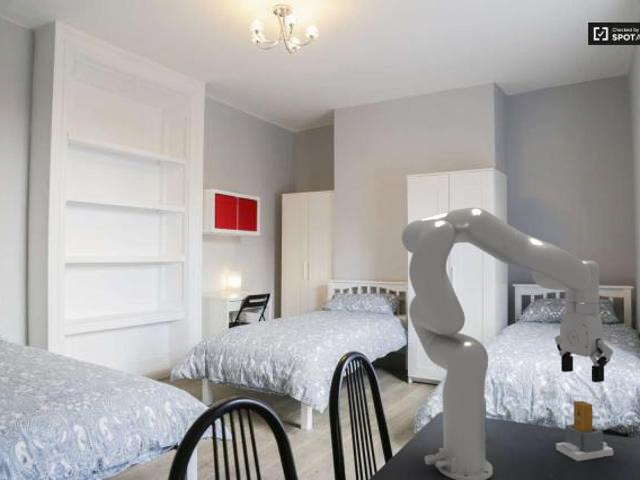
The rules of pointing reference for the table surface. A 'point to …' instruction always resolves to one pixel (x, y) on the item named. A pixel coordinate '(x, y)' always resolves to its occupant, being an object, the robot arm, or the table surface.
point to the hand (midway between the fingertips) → (582, 376)
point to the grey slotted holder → (584, 444)
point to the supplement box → (583, 416)
